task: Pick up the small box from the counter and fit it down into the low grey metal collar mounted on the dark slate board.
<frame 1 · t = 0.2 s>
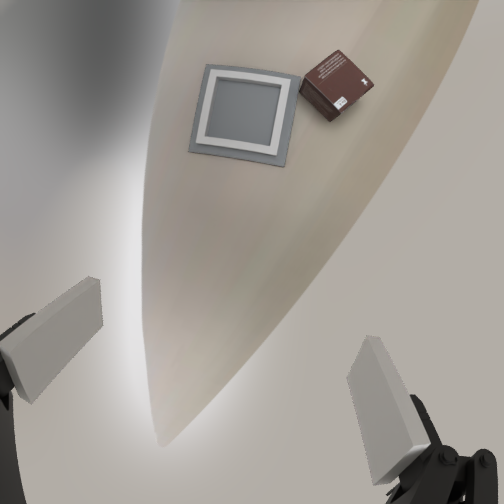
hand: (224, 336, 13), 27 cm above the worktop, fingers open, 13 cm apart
collar: (244, 112, 34), on the worktop
box: (328, 94, 33), on the worktop
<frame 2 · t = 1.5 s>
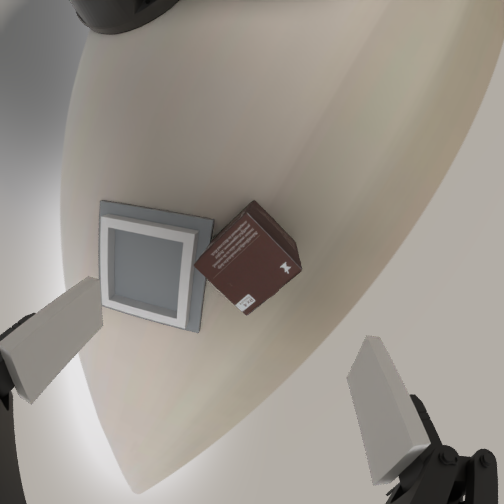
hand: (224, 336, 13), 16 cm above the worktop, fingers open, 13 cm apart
collar: (149, 267, 29), on the worktop
box: (254, 241, 28), on the worktop
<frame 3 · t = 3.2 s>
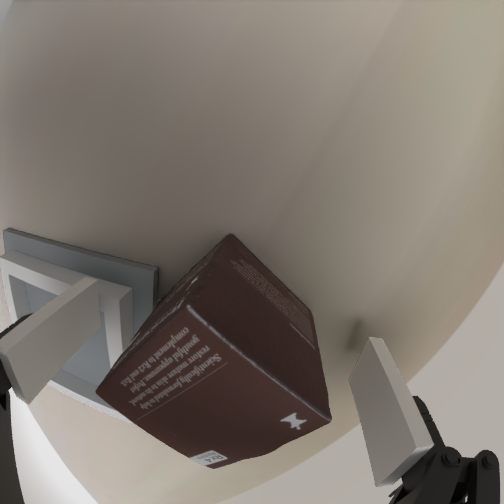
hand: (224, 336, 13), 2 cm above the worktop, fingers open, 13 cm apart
collar: (74, 332, 16), on the worktop
box: (233, 307, 15), on the worktop
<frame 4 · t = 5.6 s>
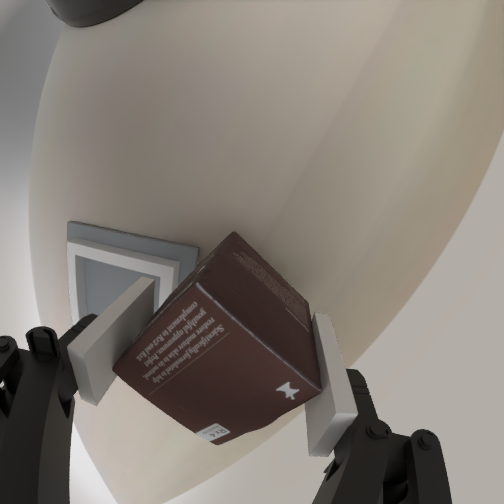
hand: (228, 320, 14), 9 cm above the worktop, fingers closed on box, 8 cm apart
collar: (124, 301, 24), on the worktop
box: (237, 299, 16), point 6 cm above the worktop, touching gripper
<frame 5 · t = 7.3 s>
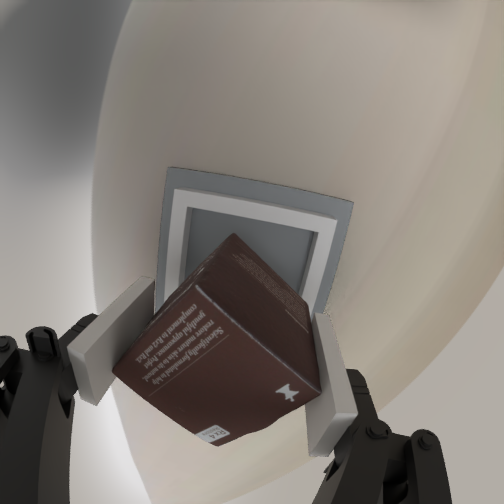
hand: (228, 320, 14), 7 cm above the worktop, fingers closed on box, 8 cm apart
collar: (244, 269, 21), on the worktop
box: (236, 300, 16), point 5 cm above the worktop, touching gripper
when the fingers open (4 cm above the worktop, at t = 9.1 s): box drops 1 cm, resting on collar.
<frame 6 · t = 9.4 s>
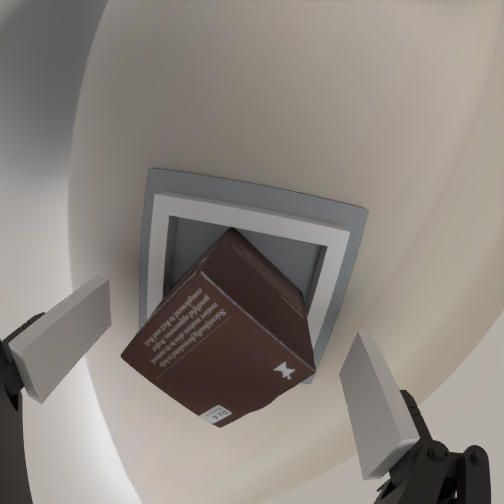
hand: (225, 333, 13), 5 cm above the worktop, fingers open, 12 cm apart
collar: (238, 287, 18), on the worktop
box: (235, 290, 17), resting on collar
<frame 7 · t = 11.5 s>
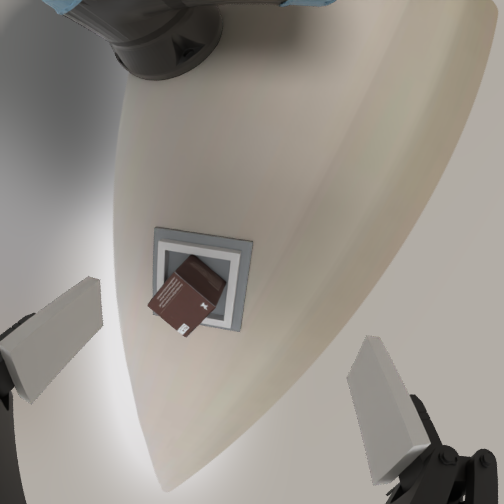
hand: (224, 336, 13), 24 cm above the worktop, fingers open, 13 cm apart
collar: (198, 280, 38), on the worktop
box: (196, 281, 37), resting on collar
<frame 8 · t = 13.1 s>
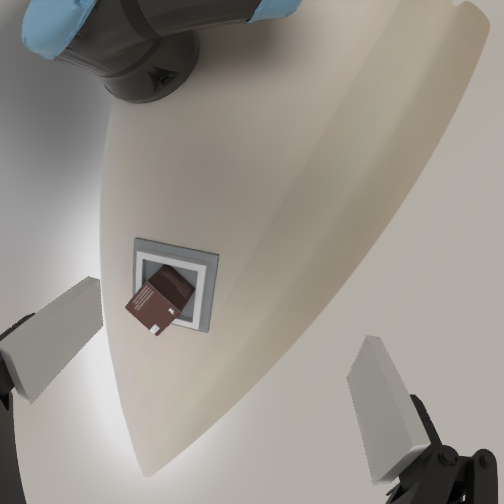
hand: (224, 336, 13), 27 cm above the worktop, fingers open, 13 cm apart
collar: (172, 286, 42), on the worktop
box: (170, 287, 41), resting on collar
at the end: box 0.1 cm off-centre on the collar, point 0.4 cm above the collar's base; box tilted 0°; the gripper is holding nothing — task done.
